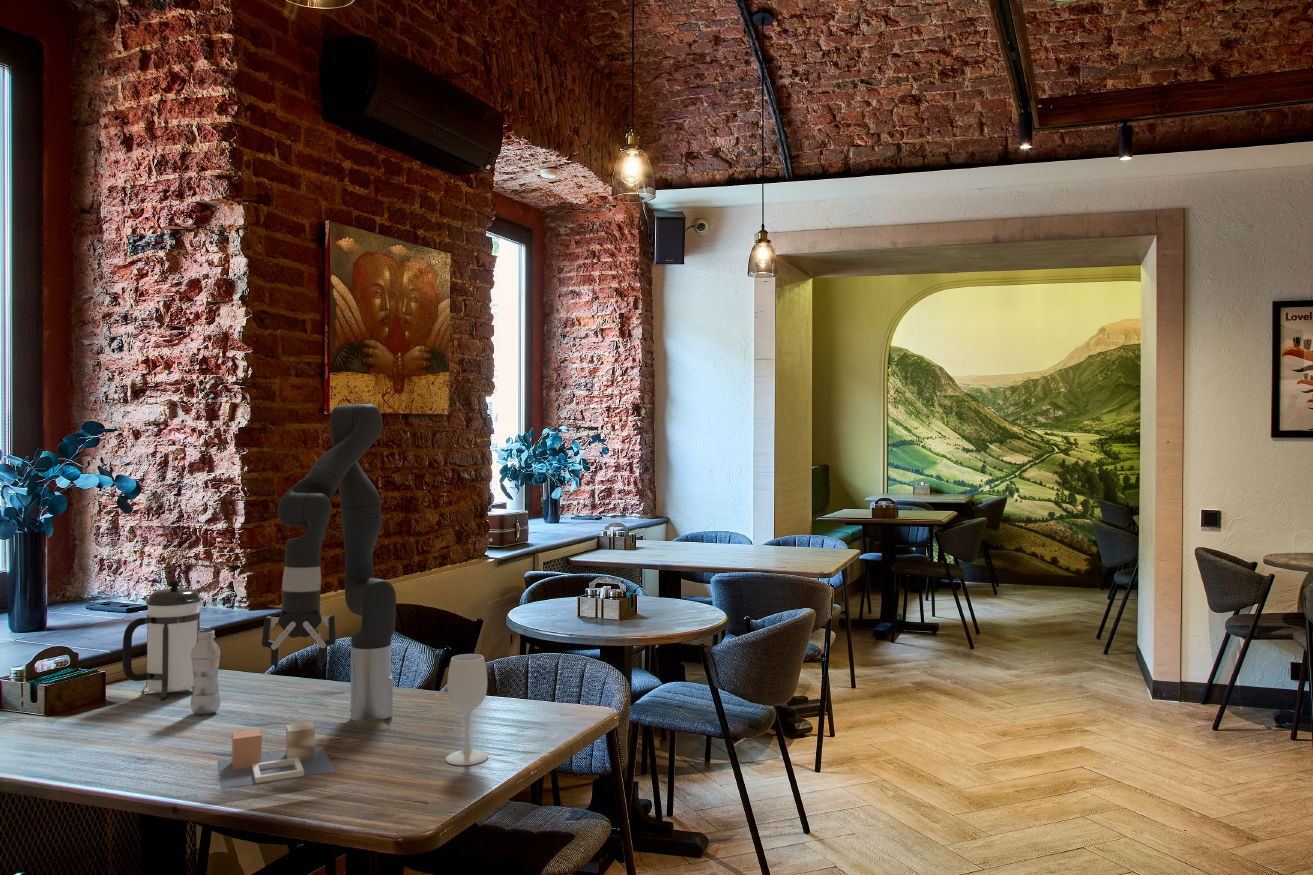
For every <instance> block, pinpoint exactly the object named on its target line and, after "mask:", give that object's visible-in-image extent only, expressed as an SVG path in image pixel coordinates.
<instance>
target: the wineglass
mask: <svg viewBox="0 0 1313 875" xmlns="http://www.w3.org/2000/svg"><path fill="white" fill-rule="evenodd" d="M446 684H447V695H448V698H449V701H450V703H451V704H452V705H453V706H454V707H455V708H457V709H459V710H460V711H461V712H463V717H464V742H463V748H462V750H458V751H454V752H452V753H450V754H449V755H447V756H446V757H445V762H446V763H448V764H450V765H453V766H471V765H478V764H481V763H483V762H486V761H487V760H488V759H489V755H488V754H487V753H486V752H484V751H482V750H479V749H478V750H477V749H472V748H471V739H470V738H471V737H470V736H471V735H470V722H471V714H472V712H473V710H475V709H476V708H478V707H479V706H480V705H481V704H482V703H483V701H484V700H485V698H486V695H487V691H488V672H487V666H486V661H485V658H484V655H481V654H478V653H477V654H475V653H467V654H466V653H465V654H464V653H463V654H457V655H454V656H452V657H451V659H450V662H449V668H448V672H447V681H446Z"/></svg>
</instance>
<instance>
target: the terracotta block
mask: <svg viewBox="0 0 1313 875" xmlns="http://www.w3.org/2000/svg"><path fill="white" fill-rule="evenodd" d="M231 734H232V735H231V737H232V738H231V745H232V746H231V759H232V765H233V770H236V769H243V768H250V767H252V764H256V763H261V755H262V738H263V737H262V733H261V729H260V728H254V729H245V730H239V731H232V733H231Z"/></svg>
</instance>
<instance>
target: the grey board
mask: <svg viewBox="0 0 1313 875" xmlns="http://www.w3.org/2000/svg"><path fill="white" fill-rule="evenodd" d="M217 765H218V766H217V767H218V773H219V781H220V787H221V790H223V789H231V788H236V787H237V788H238V787H242V786H249V785H250V786H251V785H258V784H263V783H264V784H265V783H269V782H275V781H281V780H288V779H296V778H301V777H302V778H303V777H307V776H316V775H319V774H320V775H321V774H328V773H333V772H336V770H335V768H334V765H333V764H332V762H331V760H330V758H329V756H328V754H327V751H326V750H325V748H324V746H316V747H315V758H311V759H304V760H299V757H297V758H290V759H287V757H286V751H280V752H279V751H278V752H271V753H266V754H261V763H256V764H252V767H250V768H243V769H236V770H233V765H232V758H230V759H224V760H218V761H217Z"/></svg>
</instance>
